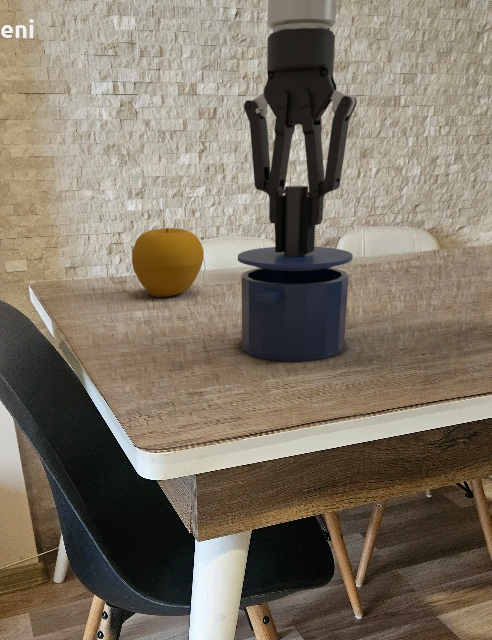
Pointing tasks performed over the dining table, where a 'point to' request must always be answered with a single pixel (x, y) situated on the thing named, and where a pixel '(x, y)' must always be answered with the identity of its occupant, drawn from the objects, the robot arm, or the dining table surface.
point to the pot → (294, 313)
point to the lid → (294, 243)
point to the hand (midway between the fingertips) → (294, 251)
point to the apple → (167, 260)
